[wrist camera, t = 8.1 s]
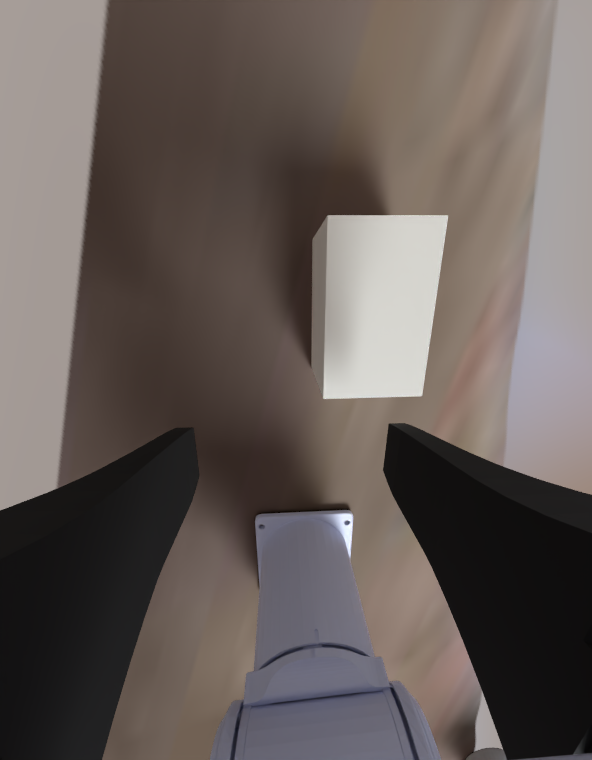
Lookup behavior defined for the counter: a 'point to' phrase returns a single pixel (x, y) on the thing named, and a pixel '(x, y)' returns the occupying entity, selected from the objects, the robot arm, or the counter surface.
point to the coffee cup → (488, 754)
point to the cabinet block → (374, 303)
